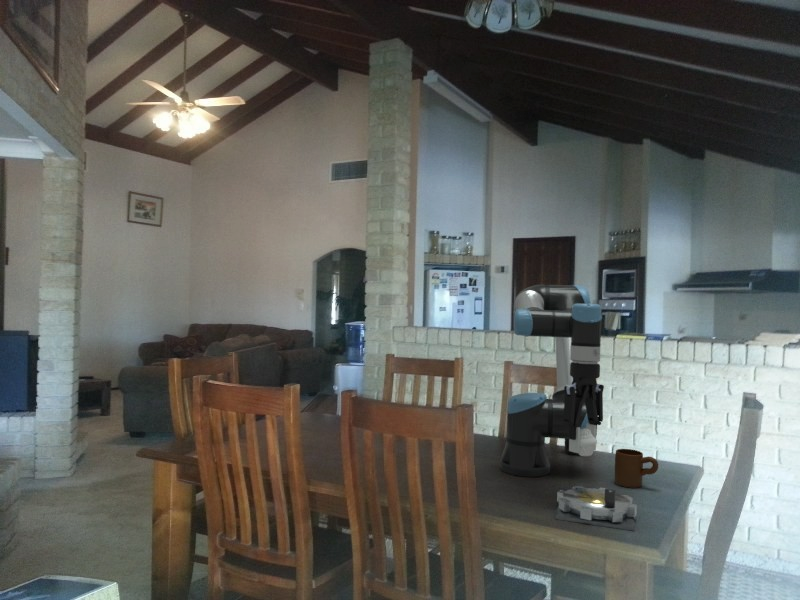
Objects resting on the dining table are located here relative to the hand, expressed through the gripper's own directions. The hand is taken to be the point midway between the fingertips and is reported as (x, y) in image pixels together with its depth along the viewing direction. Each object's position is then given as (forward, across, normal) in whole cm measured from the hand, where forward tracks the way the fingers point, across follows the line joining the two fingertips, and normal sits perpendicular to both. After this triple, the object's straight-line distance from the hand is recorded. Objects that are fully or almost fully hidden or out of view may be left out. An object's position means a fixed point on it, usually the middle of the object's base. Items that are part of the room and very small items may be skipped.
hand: (582, 450), depth 161 cm
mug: (+13, +26, +1) cm, 29 cm away
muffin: (+1, 0, -1) cm, 2 cm away
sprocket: (+13, -2, -6) cm, 15 cm away
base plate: (+14, -2, -6) cm, 15 cm away
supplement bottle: (+12, +39, +33) cm, 52 cm away
